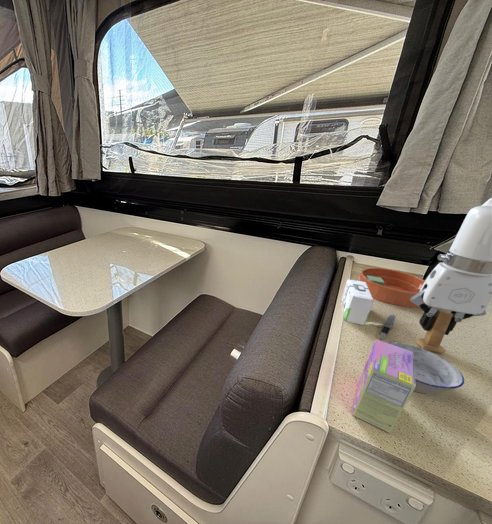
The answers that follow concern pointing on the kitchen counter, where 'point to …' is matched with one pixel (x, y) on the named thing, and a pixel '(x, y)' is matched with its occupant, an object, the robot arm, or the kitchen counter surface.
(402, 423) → the kitchen counter surface
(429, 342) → the brown wooden post
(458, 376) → the bowl
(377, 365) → the box
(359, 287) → the ink box
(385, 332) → the knife
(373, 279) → the block
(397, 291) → the bowl
